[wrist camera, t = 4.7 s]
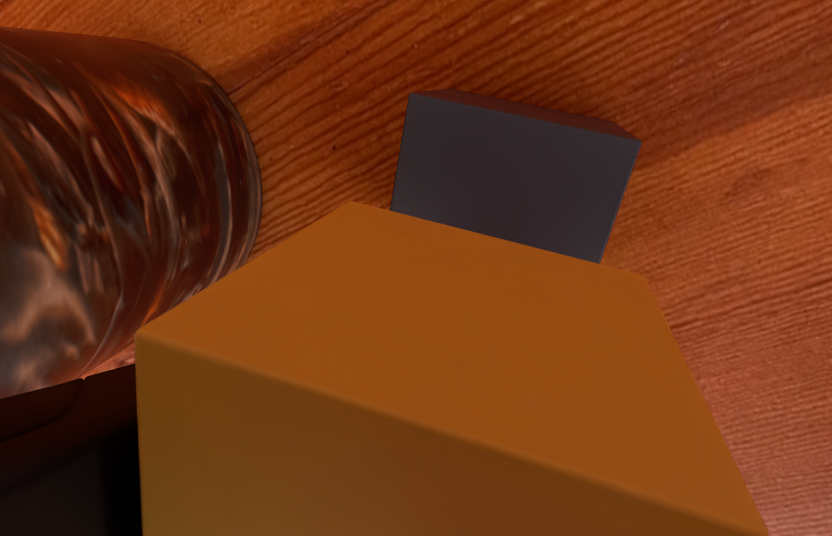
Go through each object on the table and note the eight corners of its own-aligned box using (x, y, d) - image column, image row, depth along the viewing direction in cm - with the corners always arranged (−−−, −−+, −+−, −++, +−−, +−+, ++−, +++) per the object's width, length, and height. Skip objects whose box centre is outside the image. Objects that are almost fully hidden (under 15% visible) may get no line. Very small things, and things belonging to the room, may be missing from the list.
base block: (613, 121, 18) (642, 140, 12) (564, 275, 20) (570, 348, 15) (449, 88, 19) (408, 92, 13) (420, 238, 21) (375, 294, 16)
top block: (645, 274, 8) (776, 537, 3) (554, 504, 10) (558, 868, 5) (348, 199, 9) (130, 330, 4) (318, 425, 11) (145, 684, 6)
